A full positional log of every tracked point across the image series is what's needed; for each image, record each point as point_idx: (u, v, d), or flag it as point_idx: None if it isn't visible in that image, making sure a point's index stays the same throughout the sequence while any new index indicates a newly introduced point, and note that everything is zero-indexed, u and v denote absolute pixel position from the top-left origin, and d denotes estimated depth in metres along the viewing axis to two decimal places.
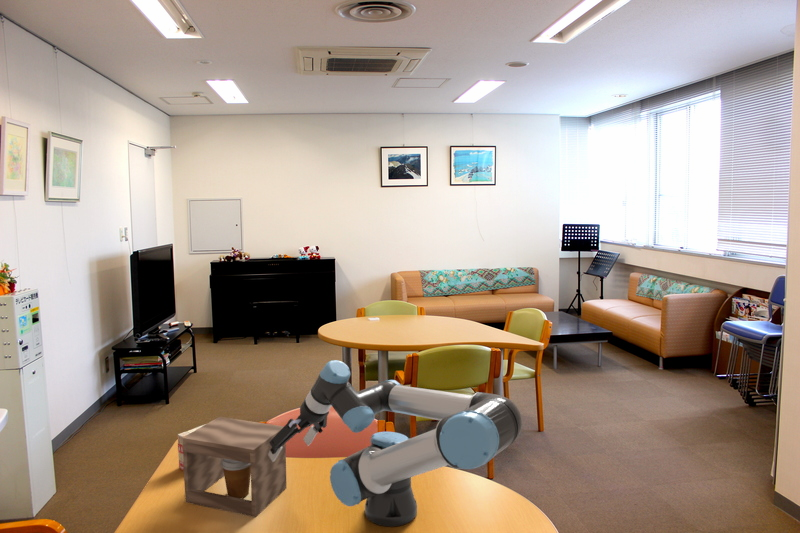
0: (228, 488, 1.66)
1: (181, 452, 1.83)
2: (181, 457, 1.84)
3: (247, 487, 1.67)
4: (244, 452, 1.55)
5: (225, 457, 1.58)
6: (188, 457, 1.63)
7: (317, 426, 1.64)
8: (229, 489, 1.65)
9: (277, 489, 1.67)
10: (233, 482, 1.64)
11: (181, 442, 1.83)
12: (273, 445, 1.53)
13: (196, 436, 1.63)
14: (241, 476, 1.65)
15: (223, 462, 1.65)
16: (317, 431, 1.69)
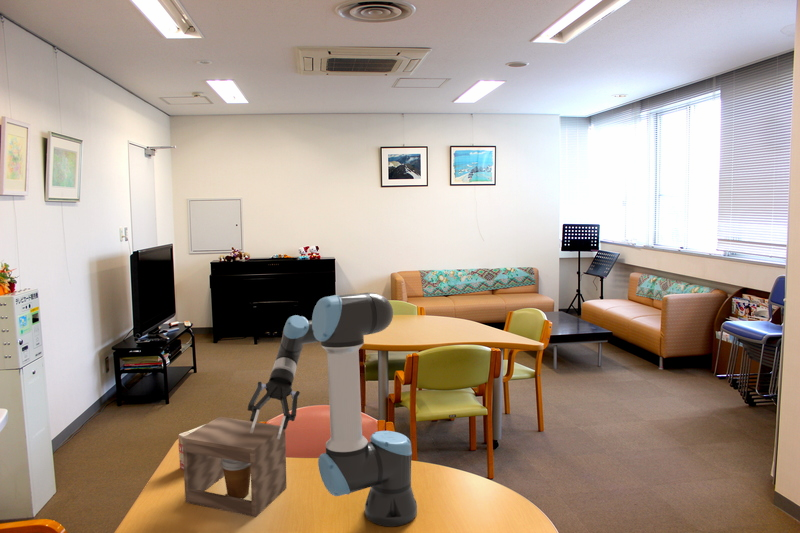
0: (228, 488, 1.66)
1: (182, 452, 1.83)
2: (182, 457, 1.84)
3: (247, 487, 1.67)
4: (244, 452, 1.55)
5: (225, 457, 1.58)
6: (188, 457, 1.63)
7: (285, 404, 1.69)
8: (229, 489, 1.65)
9: (277, 489, 1.67)
10: (233, 482, 1.64)
11: (182, 442, 1.83)
12: None
13: (196, 436, 1.63)
14: (241, 476, 1.65)
15: (223, 462, 1.65)
16: (287, 420, 1.66)
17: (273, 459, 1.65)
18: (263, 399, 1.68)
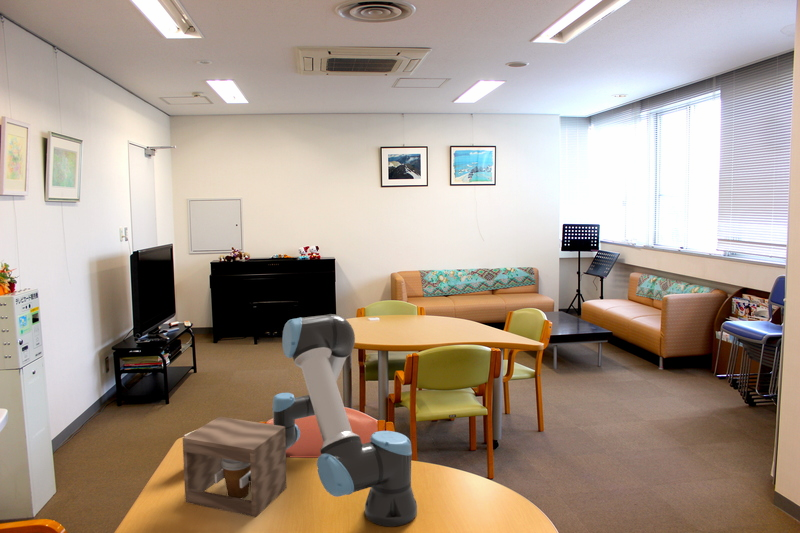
0: (228, 488, 1.66)
1: None
2: None
3: (247, 487, 1.67)
4: (244, 452, 1.55)
5: (225, 457, 1.58)
6: (188, 457, 1.63)
7: None
8: (229, 489, 1.65)
9: (277, 489, 1.67)
10: (233, 482, 1.64)
11: None
12: None
13: (196, 436, 1.63)
14: (241, 476, 1.65)
15: (223, 462, 1.65)
16: None
17: (273, 459, 1.65)
18: None
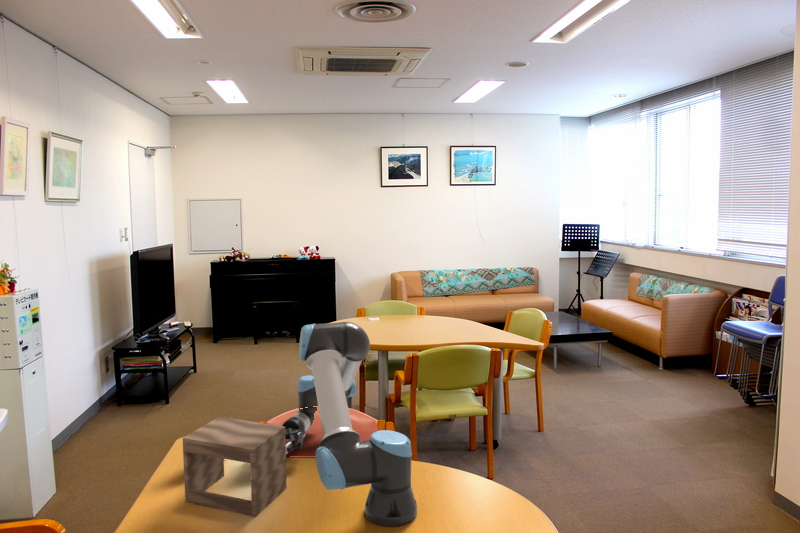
0: None
1: None
2: None
3: None
4: (244, 452, 1.55)
5: (225, 457, 1.58)
6: (188, 457, 1.63)
7: (292, 437, 1.90)
8: None
9: (277, 489, 1.67)
10: None
11: None
12: None
13: (196, 436, 1.63)
14: None
15: None
16: (292, 445, 1.84)
17: (273, 459, 1.65)
18: None
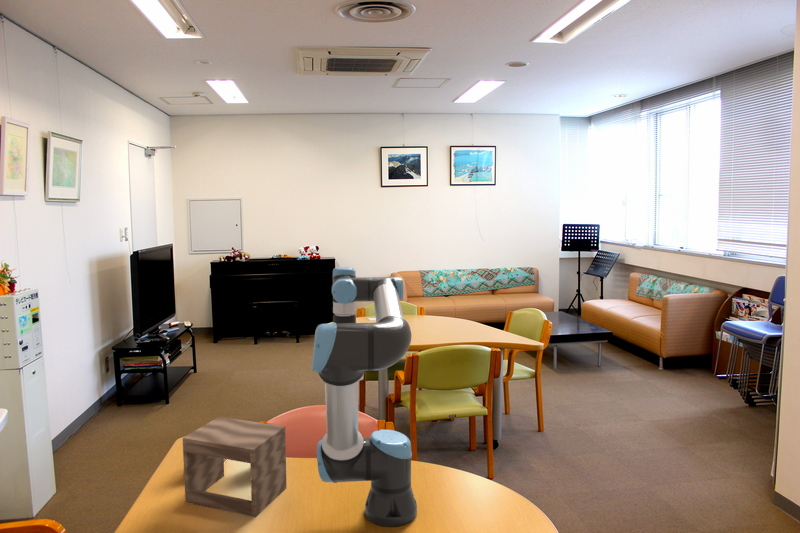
0: None
1: None
2: None
3: None
4: (244, 452, 1.55)
5: (225, 457, 1.58)
6: (188, 457, 1.63)
7: None
8: None
9: (277, 489, 1.67)
10: None
11: None
12: None
13: (196, 436, 1.63)
14: None
15: None
16: None
17: (273, 459, 1.65)
18: None
